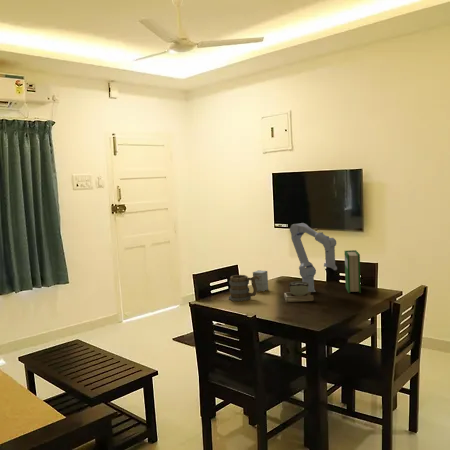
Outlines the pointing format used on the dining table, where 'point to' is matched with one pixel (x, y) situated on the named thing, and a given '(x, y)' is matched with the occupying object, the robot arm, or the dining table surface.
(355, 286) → the hardback book
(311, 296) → the open u-shaped wooden frame
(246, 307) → the dining table surface
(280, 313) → the dining table surface
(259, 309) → the dining table surface
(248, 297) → the tankard
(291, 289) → the food container
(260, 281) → the supplement box
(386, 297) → the dining table surface
